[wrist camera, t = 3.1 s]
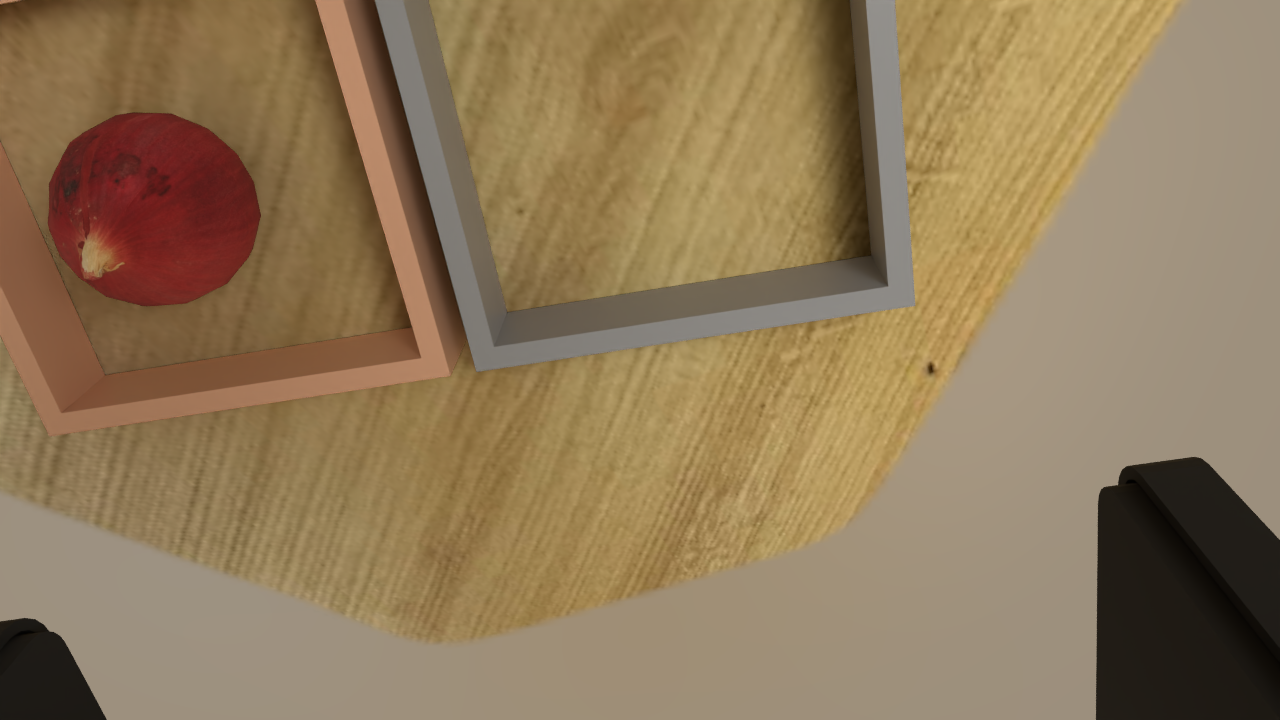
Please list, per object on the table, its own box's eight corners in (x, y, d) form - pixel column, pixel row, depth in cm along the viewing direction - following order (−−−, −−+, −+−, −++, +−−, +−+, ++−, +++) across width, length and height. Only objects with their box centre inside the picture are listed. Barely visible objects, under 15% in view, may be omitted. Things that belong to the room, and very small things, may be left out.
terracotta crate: (348, -94, 31) (317, -92, 28) (466, 339, 37) (450, 376, 34) (-91, -6, 32) (-161, 4, 29) (93, 396, 38) (49, 436, 35)
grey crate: (861, -196, 29) (880, -205, 26) (896, 273, 35) (915, 306, 32) (376, -99, 31) (348, -98, 28) (490, 335, 37) (476, 371, 34)
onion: (86, 138, 34) (-72, 207, 27) (225, 61, 33) (99, 111, 25) (191, 284, 36) (71, 385, 29) (325, 217, 35) (234, 304, 28)
